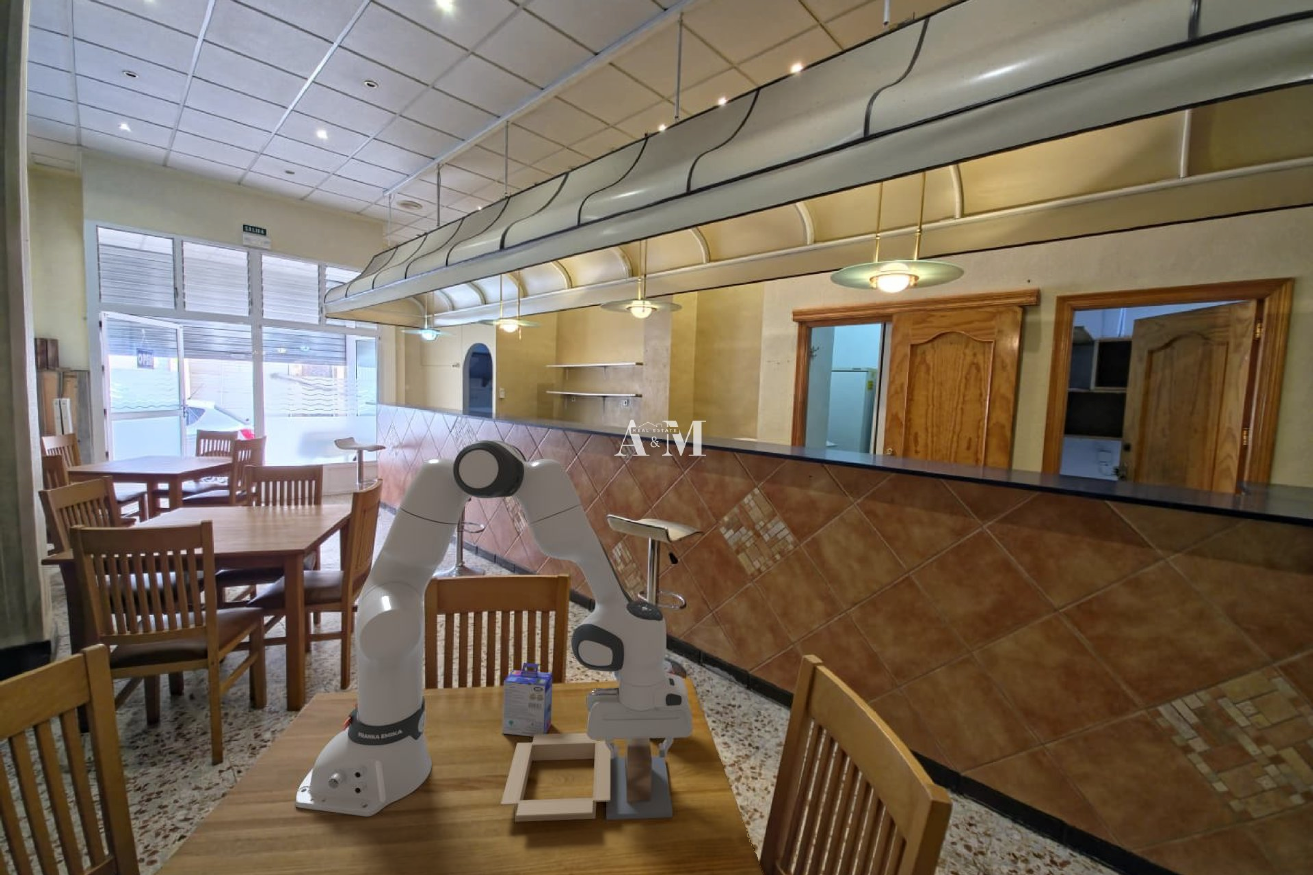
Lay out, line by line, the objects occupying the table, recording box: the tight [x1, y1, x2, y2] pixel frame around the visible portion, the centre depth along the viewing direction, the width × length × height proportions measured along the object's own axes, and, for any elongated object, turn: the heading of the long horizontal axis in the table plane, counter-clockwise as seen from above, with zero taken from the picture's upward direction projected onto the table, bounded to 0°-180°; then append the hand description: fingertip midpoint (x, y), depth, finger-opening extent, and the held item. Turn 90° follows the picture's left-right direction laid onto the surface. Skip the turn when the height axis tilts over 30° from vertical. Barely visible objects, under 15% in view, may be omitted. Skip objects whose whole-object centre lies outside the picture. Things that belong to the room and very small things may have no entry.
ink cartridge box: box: [501, 662, 553, 738], centre depth 110 cm, size 10×6×14 cm, turn 84°
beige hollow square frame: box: [500, 732, 610, 823], centre depth 95 cm, size 19×20×4 cm
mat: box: [605, 755, 674, 821], centre depth 95 cm, size 12×14×1 cm
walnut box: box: [625, 738, 652, 802], centre depth 95 cm, size 4×9×8 cm, turn 5°
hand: (638, 755), depth 95 cm, fingers open, 8 cm apart
